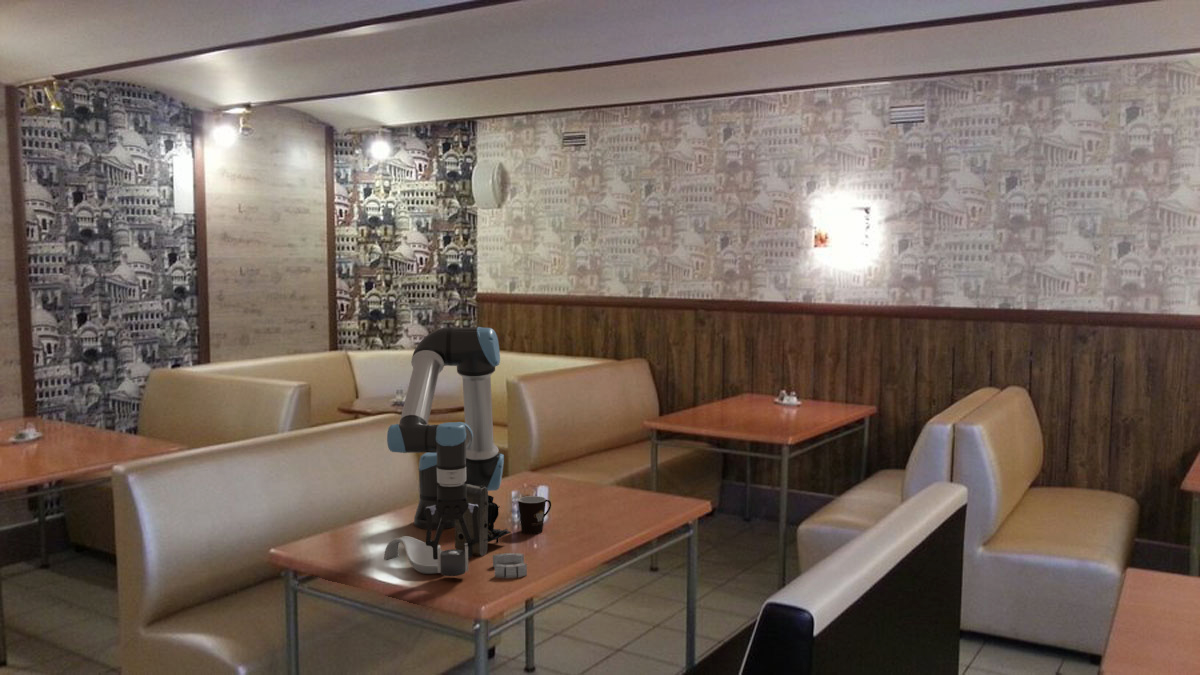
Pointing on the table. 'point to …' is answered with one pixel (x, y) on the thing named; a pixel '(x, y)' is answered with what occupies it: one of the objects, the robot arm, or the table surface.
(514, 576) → the grey segmented ring
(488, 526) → the vintage camera
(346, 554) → the table surface
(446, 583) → the table surface
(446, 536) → the table surface
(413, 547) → the spoon rest
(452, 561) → the cap
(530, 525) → the coffee mug
